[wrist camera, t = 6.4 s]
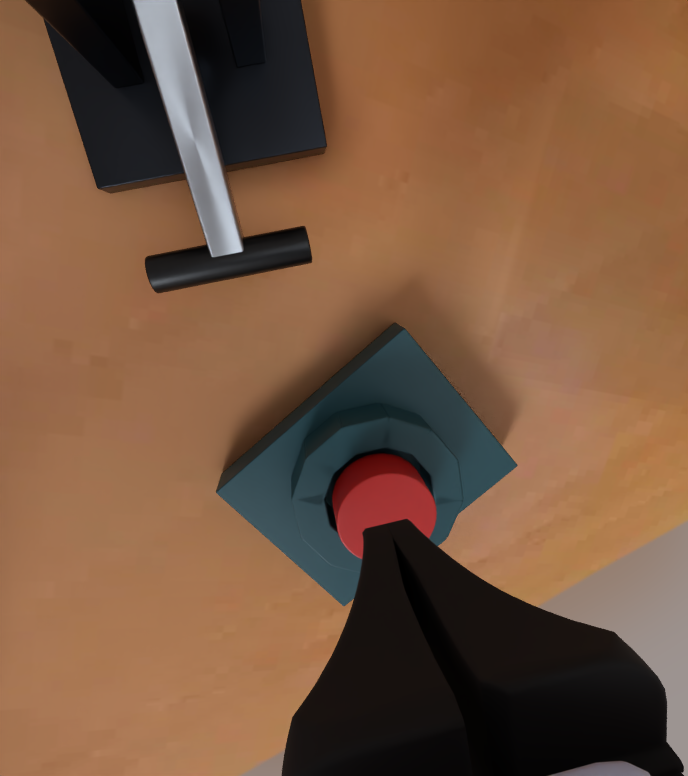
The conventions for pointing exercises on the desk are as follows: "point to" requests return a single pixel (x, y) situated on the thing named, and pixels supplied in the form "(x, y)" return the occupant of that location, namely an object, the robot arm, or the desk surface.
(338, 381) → the button box
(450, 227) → the desk surface
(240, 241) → the switch lever
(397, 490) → the power button
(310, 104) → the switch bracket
